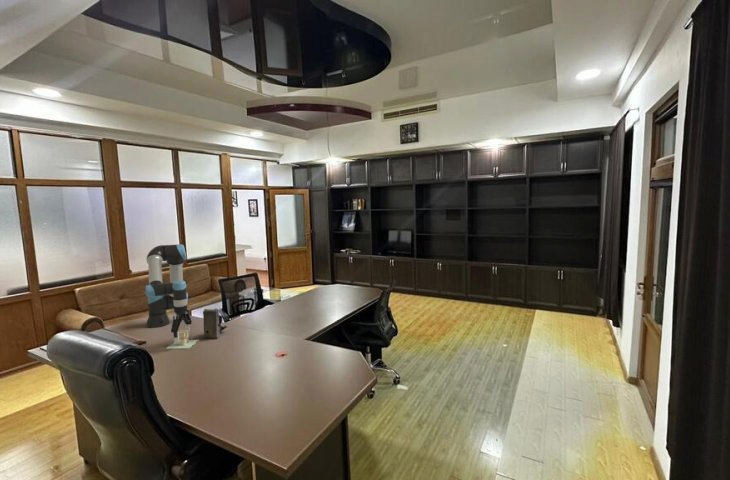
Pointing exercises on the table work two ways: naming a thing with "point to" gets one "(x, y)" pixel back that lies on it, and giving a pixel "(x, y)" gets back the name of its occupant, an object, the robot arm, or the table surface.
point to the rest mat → (187, 346)
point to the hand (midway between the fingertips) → (182, 338)
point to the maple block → (183, 337)
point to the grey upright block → (212, 323)
